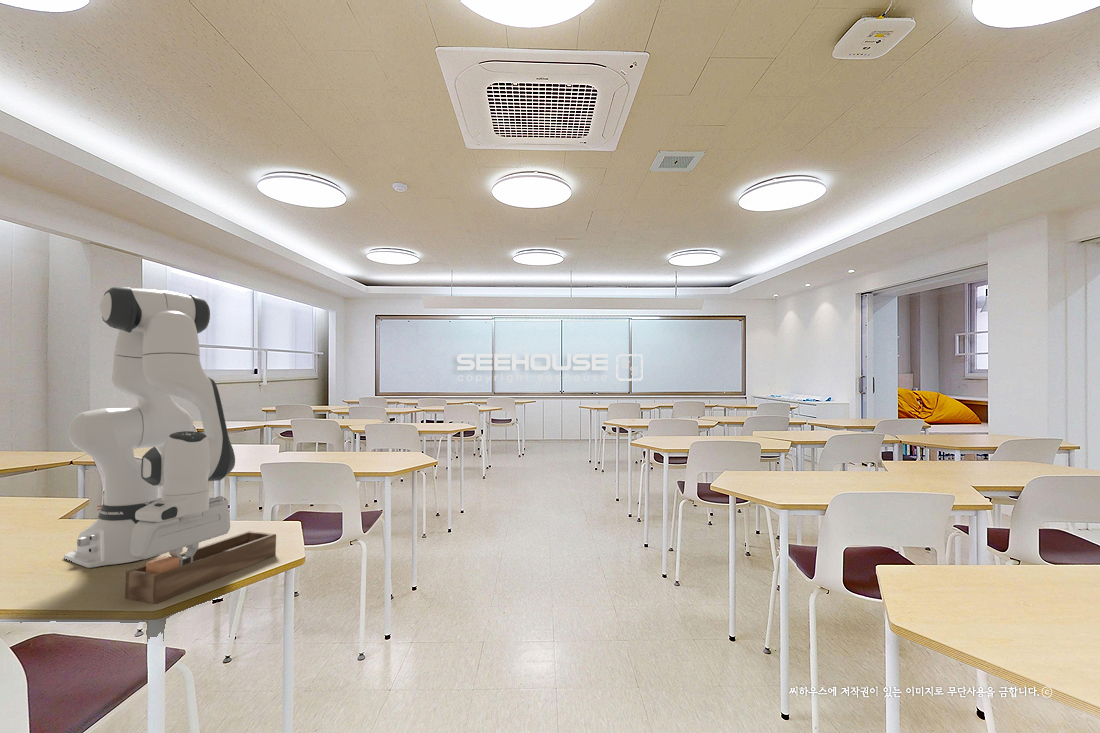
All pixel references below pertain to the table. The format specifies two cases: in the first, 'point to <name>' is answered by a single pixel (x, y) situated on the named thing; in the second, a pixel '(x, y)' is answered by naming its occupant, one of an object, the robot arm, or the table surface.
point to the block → (162, 564)
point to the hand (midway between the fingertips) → (183, 565)
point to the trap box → (201, 567)
